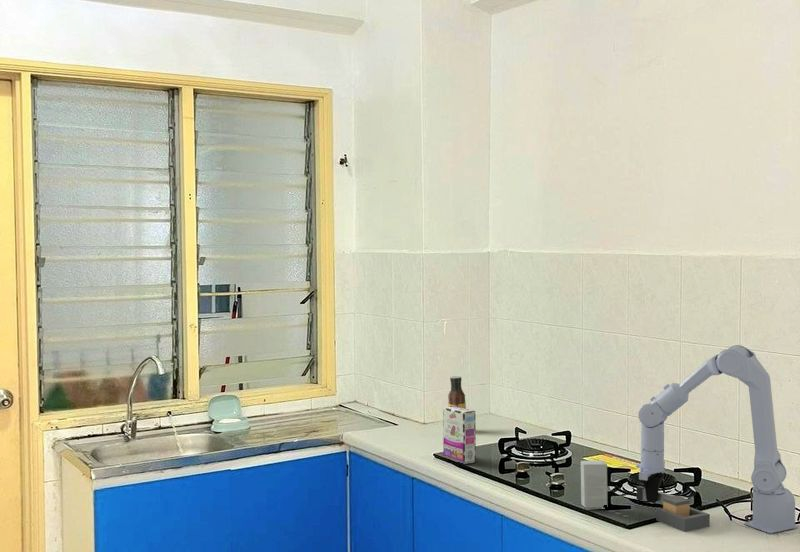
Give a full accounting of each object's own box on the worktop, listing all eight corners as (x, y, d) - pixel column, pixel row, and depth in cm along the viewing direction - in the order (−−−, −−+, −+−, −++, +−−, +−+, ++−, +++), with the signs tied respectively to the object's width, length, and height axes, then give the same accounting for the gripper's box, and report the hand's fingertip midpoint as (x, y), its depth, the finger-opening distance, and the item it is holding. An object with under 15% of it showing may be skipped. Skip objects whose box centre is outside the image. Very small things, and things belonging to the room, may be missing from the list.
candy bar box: (476, 462, 279) (476, 410, 278) (464, 465, 276) (463, 412, 275) (455, 455, 288) (454, 405, 288) (442, 458, 286) (442, 407, 285)
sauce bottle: (467, 429, 326) (466, 375, 325) (466, 433, 320) (466, 378, 319) (449, 429, 327) (448, 375, 326) (448, 433, 321) (447, 378, 320)
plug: (676, 517, 224) (676, 495, 223) (689, 522, 220) (689, 500, 219) (663, 519, 222) (663, 498, 221) (675, 525, 218) (675, 502, 217)
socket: (681, 512, 227) (681, 500, 227) (715, 525, 217) (715, 513, 217) (650, 518, 223) (650, 506, 223) (684, 531, 213) (684, 519, 212)
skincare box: (603, 505, 234) (603, 459, 234) (607, 510, 230) (607, 464, 229) (580, 505, 234) (580, 460, 233) (584, 510, 230) (584, 464, 229)
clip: (685, 512, 226) (685, 496, 226) (682, 513, 225) (682, 497, 224) (639, 500, 236) (639, 485, 236) (636, 501, 235) (636, 486, 235)
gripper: (646, 441, 238) (645, 492, 239) (627, 453, 226) (626, 506, 227) (672, 445, 234) (672, 496, 235) (655, 456, 222) (654, 510, 223)
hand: (651, 501), depth 231 cm, fingers closed, pressing on clip
